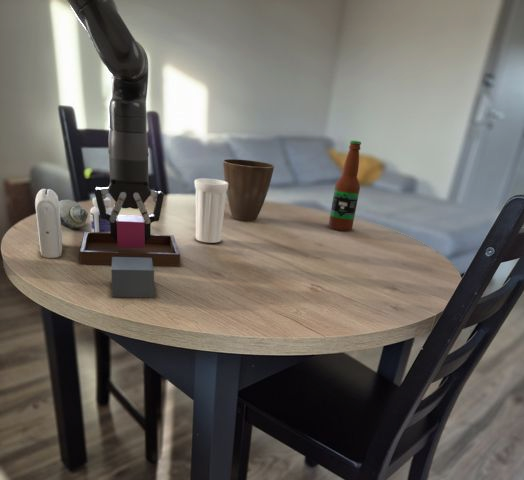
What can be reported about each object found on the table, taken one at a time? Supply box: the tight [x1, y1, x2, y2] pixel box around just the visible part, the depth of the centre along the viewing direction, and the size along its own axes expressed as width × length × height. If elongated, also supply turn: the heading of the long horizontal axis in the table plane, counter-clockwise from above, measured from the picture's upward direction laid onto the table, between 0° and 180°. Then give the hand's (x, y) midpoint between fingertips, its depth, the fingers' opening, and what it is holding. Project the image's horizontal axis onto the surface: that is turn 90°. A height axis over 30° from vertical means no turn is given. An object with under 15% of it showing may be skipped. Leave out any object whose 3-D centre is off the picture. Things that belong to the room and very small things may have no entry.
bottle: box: [328, 140, 362, 232], centre depth 143 cm, size 7×7×25 cm
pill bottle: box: [90, 196, 113, 233], centre depth 112 cm, size 5×5×9 cm
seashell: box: [59, 198, 89, 230], centre depth 117 cm, size 6×8×12 cm
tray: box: [79, 231, 181, 267], centre depth 104 cm, size 20×15×3 cm
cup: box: [194, 177, 228, 244], centre depth 117 cm, size 8×8×14 cm
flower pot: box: [222, 158, 275, 222], centre depth 143 cm, size 15×15×16 cm
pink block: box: [116, 214, 145, 248], centre depth 102 cm, size 6×6×6 cm
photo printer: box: [34, 188, 63, 259], centre depth 98 cm, size 10×4×12 cm, turn 20°
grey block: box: [110, 257, 155, 298], centre depth 86 cm, size 7×7×5 cm
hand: (130, 239), depth 103 cm, fingers closed on pink block, 5 cm apart
